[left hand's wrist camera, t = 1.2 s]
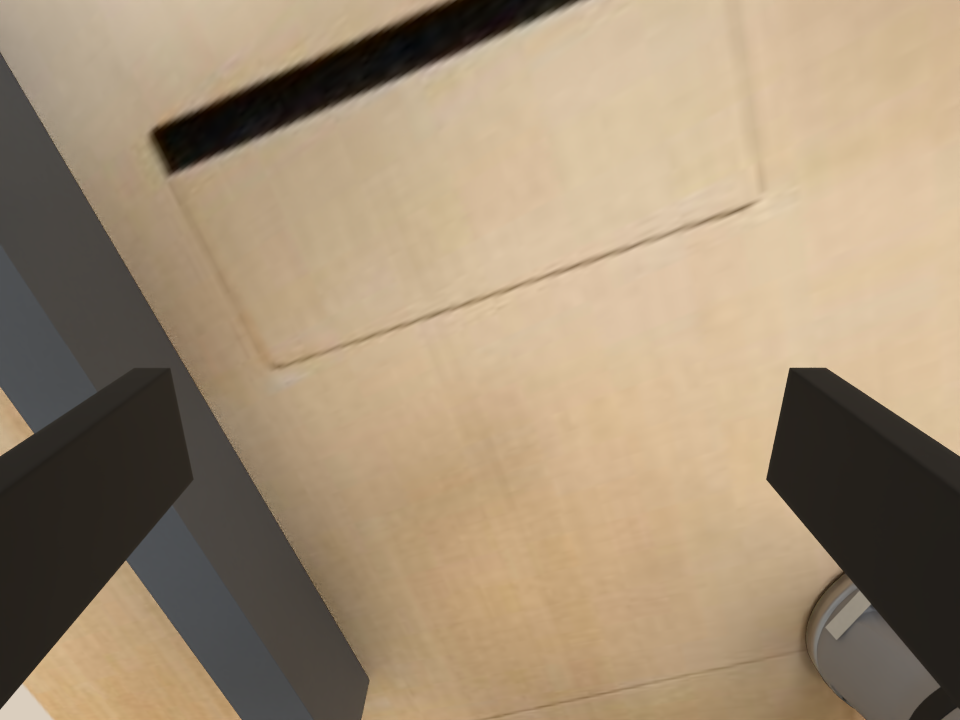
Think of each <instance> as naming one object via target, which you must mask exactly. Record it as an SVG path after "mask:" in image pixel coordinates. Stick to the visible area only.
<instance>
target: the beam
mask: <svg viewBox="0 0 960 720" xmlns="http://www.w3.org/2000/svg"><path fill="white" fill-rule="evenodd" d="M133 368H170V369H171V373H172V378H173V383H174V388H175V392H176V397H177V402H178V407H179V412H180V416H181V421H182V426H183V431H184V435H185V440H186V445H187V450H188V455H189V459H190V464H191V469H192V474H193V478H194V480H193V481H192V482H191V483H190V484H189V486H188V487H187V488H186V489H185V490H184V492H183V493H182V494H181V495H180V496H179V498H178V499H177V500H176V501H175V502H174V504H173V505H172V506H171V507H170V508H169V509H168V511H167V512H166V513H165V514H164V515H163V517H162V518H161V519H160V520H159V521H158V523H157V524H156V525H155V526H154V527H153V528H152V530H151V531H150V532H149V533H148V534H147V536H146V537H145V538H144V539H143V540H142V542H141V543H140V544H139V545H138V546H137V548H136V549H135V550H134V551H133V552H132V553H131V555H130V556H129V557H128V558H127V559H126V561H127V562H128V563H129V565H130V566H131V568H132V569H133V570H134V572H135V573H136V574H137V576H138V577H139V579H140V580H141V581H142V583H143V584H144V585H145V587H146V588H147V590H148V591H149V592H150V594H151V595H152V597H153V598H154V599H155V601H156V602H157V603H158V605H159V606H160V608H161V609H162V610H163V612H164V613H165V614H166V616H167V617H168V619H169V620H170V621H171V623H172V624H173V625H174V627H175V628H176V630H177V631H178V632H179V634H180V635H181V636H182V638H183V639H184V641H185V642H186V643H187V645H188V646H189V648H190V649H191V650H192V652H193V653H194V654H195V656H196V657H197V659H198V660H199V661H200V663H201V664H202V665H203V667H204V668H205V670H206V671H207V672H208V674H209V675H210V676H211V678H212V679H213V681H214V682H215V683H216V685H217V686H218V688H219V689H220V690H221V692H222V693H223V694H224V696H225V697H226V699H227V700H228V701H229V703H230V704H231V705H232V707H233V708H234V710H235V711H236V712H237V714H238V715H239V716H240V718H241V719H242V720H361V718H362V713H363V709H364V704H365V699H366V694H367V689H368V684H369V678H368V677H367V675H366V673H365V671H364V670H363V668H362V666H361V665H360V663H359V661H358V660H357V658H356V656H355V654H354V653H353V651H352V649H351V648H350V646H349V644H348V643H347V641H346V639H345V637H344V636H343V634H342V632H341V631H340V629H339V627H338V626H337V624H336V622H335V621H334V619H333V617H332V615H331V614H330V612H329V610H328V609H327V607H326V605H325V604H324V602H323V600H322V598H321V597H320V595H319V593H318V592H317V590H316V588H315V587H314V585H313V583H312V581H311V580H310V578H309V576H308V575H307V573H306V571H305V570H304V568H303V566H302V564H301V563H300V561H299V559H298V558H297V556H296V554H295V553H294V551H293V549H292V547H291V546H290V544H289V542H288V541H287V539H286V537H285V536H284V534H283V532H282V530H281V529H280V527H279V525H278V524H277V522H276V520H275V519H274V517H273V515H272V514H271V512H270V510H269V508H268V507H267V505H266V503H265V502H264V500H263V498H262V497H261V495H260V493H259V491H258V490H257V488H256V486H255V485H254V483H253V481H252V480H251V478H250V476H249V474H248V473H247V471H246V469H245V468H244V466H243V464H242V463H241V461H240V459H239V457H238V456H237V454H236V452H235V451H234V449H233V447H232V446H231V444H230V442H229V440H228V439H227V437H226V435H225V434H224V432H223V430H222V429H221V427H220V425H219V423H218V422H217V420H216V418H215V417H214V415H213V413H212V412H211V410H210V408H209V407H208V405H207V403H206V401H205V400H204V398H203V396H202V395H201V393H200V391H199V390H198V388H197V386H196V384H195V383H194V381H193V379H192V378H191V376H190V374H189V373H188V371H187V369H186V367H185V366H184V364H183V362H182V361H181V359H180V357H179V356H178V354H177V352H176V350H175V349H174V347H173V345H172V344H171V342H170V340H169V339H168V337H167V335H166V333H165V332H164V330H163V328H162V327H161V325H160V323H159V322H158V320H157V318H156V316H155V315H154V313H153V311H152V310H151V308H150V306H149V305H148V303H147V301H146V300H145V298H144V296H143V294H142V293H141V291H140V289H139V288H138V286H137V284H136V283H135V281H134V279H133V277H132V276H131V274H130V272H129V271H128V269H127V267H126V266H125V264H124V262H123V260H122V259H121V257H120V255H119V254H118V252H117V250H116V249H115V247H114V245H113V243H112V242H111V240H110V238H109V237H108V235H107V233H106V232H105V230H104V228H103V226H102V225H101V223H100V221H99V220H98V218H97V216H96V215H95V213H94V211H93V209H92V208H91V206H90V204H89V203H88V201H87V199H86V198H85V196H84V194H83V193H82V191H81V189H80V187H79V186H78V184H77V182H76V181H75V179H74V177H73V176H72V174H71V172H70V170H69V169H68V167H67V165H66V164H65V162H64V160H63V159H62V157H61V155H60V153H59V152H58V150H57V148H56V147H55V145H54V143H53V142H52V140H51V138H50V136H49V135H48V133H47V131H46V130H45V128H44V126H43V125H42V123H41V121H40V119H39V118H38V116H37V114H36V113H35V111H34V109H33V108H32V106H31V104H30V102H29V101H28V99H27V97H26V96H25V94H24V92H23V91H22V89H21V87H20V86H19V84H18V82H17V80H16V79H15V77H14V75H13V74H12V72H11V70H10V69H9V67H8V65H7V63H6V62H5V60H4V58H3V57H2V55H1V53H0V387H1V388H2V390H3V391H4V392H5V394H6V395H7V397H8V398H9V399H10V401H11V402H12V403H13V405H14V406H15V408H16V409H17V410H18V412H19V413H20V414H21V416H22V417H23V419H24V420H25V421H26V423H27V424H28V426H29V427H30V428H31V430H32V431H33V432H34V434H35V433H36V432H38V431H39V430H41V429H43V428H44V427H46V426H47V425H49V424H50V423H52V422H53V421H55V420H56V419H58V418H59V417H61V416H62V415H64V414H65V413H67V412H68V411H70V410H71V409H73V408H74V407H76V406H77V405H79V404H80V403H82V402H83V401H85V400H86V399H88V398H89V397H91V396H92V395H94V394H95V393H97V392H98V391H100V390H101V389H103V388H104V387H106V386H108V385H109V384H111V383H112V382H114V381H115V380H117V379H118V378H120V377H121V376H123V375H124V374H126V373H127V372H129V371H130V370H132V369H133Z"/></svg>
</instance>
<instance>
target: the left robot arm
mask: <svg viewBox="0 0 960 720" xmlns="http://www.w3.org/2000/svg"><path fill="white" fill-rule="evenodd" d="M193 480H194V478H193V474H192V469H191V464H190V459H189V455H188V450H187V445H186V440H185V435H184V431H183V426H182V421H181V416H180V412H179V407H178V402H177V397H176V392H175V388H174V383H173V378H172V373H171V369H170V368H133V369H132V370H130V371H129V372H127V373H126V374H124V375H123V376H121V377H120V378H118V379H117V380H115V381H114V382H112V383H111V384H109V385H108V386H106V387H104V388H103V389H101V390H100V391H98V392H97V393H95V394H94V395H92V396H91V397H89V398H88V399H86V400H85V401H83V402H82V403H80V404H79V405H77V406H76V407H74V408H73V409H71V410H70V411H68V412H67V413H65V414H64V415H62V416H61V417H59V418H58V419H56V420H55V421H53V422H52V423H50V424H49V425H47V426H46V427H44V428H43V429H41V430H39V431H38V432H36V433H35V434H33V435H32V436H30V437H29V438H27V439H26V440H24V441H23V442H21V443H20V444H18V445H17V446H15V447H14V448H12V449H11V450H9V451H8V452H6V453H5V454H3V455H2V456H0V709H1V708H2V707H3V706H4V704H5V703H6V702H7V701H8V700H9V698H10V697H11V696H12V695H13V694H14V692H15V691H16V690H17V689H18V688H19V687H20V685H21V684H22V683H23V682H24V681H25V679H26V678H27V677H28V676H29V675H30V674H31V672H32V671H33V670H34V669H35V668H36V666H37V665H38V664H39V663H40V662H41V660H42V659H43V658H44V657H45V656H46V655H47V653H48V652H49V651H50V650H51V649H52V647H53V646H54V645H55V644H56V643H57V641H58V640H59V639H60V638H61V637H62V636H63V634H64V633H65V632H66V631H67V630H68V628H69V627H70V626H71V625H72V624H73V622H74V621H75V620H76V619H77V618H78V616H79V615H80V614H81V613H82V612H83V611H84V609H85V608H86V607H87V606H88V605H89V603H90V602H91V601H92V600H93V599H94V597H95V596H96V595H97V594H98V593H99V592H100V590H101V589H102V588H103V587H104V586H105V584H106V583H107V582H108V581H109V580H110V578H111V577H112V576H113V575H114V574H115V572H116V571H117V570H118V569H119V568H120V567H121V565H122V564H123V563H124V562H125V561H126V559H127V558H128V557H129V556H130V555H131V553H132V552H133V551H134V550H135V549H136V548H137V546H138V545H139V544H140V543H141V542H142V540H143V539H144V538H145V537H146V536H147V534H148V533H149V532H150V531H151V530H152V528H153V527H154V526H155V525H156V524H157V523H158V521H159V520H160V519H161V518H162V517H163V515H164V514H165V513H166V512H167V511H168V509H169V508H170V507H171V506H172V505H173V504H174V502H175V501H176V500H177V499H178V498H179V496H180V495H181V494H182V493H183V492H184V490H185V489H186V488H187V487H188V486H189V484H190V483H191V482H192V481H193ZM766 480H767V481H768V482H769V483H770V484H771V486H772V487H773V488H774V489H775V490H776V492H777V493H778V494H779V495H780V496H781V498H782V499H783V500H784V501H785V502H786V504H787V505H788V506H789V507H790V508H791V509H792V511H793V512H794V513H795V514H796V515H797V517H798V518H799V519H800V520H801V521H802V523H803V524H804V525H805V526H806V527H807V528H808V530H809V531H810V532H811V533H812V534H813V536H814V537H815V538H816V539H817V540H818V542H819V543H820V544H821V545H822V546H823V548H824V549H825V550H826V551H827V552H828V553H829V555H830V556H831V557H832V558H833V559H834V561H835V562H836V563H837V564H838V565H839V567H840V568H841V569H842V570H843V571H844V572H845V574H846V575H847V576H848V577H849V578H850V580H851V581H852V582H853V583H854V584H855V586H856V587H857V588H858V589H859V590H860V592H861V593H862V594H863V595H864V596H865V597H866V599H867V600H868V601H869V602H870V603H871V605H872V606H873V607H874V608H875V609H876V611H877V612H878V613H879V614H880V615H881V616H882V618H883V619H884V620H885V621H886V622H887V624H888V625H889V626H890V627H891V628H892V630H893V631H894V632H895V633H896V634H897V636H898V637H899V638H900V639H901V640H902V641H903V643H904V644H905V645H906V646H907V647H908V649H909V650H910V651H911V652H912V653H913V655H914V656H915V657H916V658H917V659H918V660H919V662H920V663H921V664H922V665H923V666H924V668H925V669H926V670H927V671H928V672H929V674H930V675H931V676H932V677H933V678H934V679H935V681H936V682H937V683H938V684H939V685H940V687H941V688H942V689H943V690H944V691H945V693H946V694H947V695H948V696H949V697H950V699H951V700H952V701H953V702H954V703H955V704H956V706H957V707H958V708H959V709H960V456H958V455H957V454H955V453H954V452H952V451H951V450H949V449H948V448H946V447H945V446H943V445H942V444H940V443H939V442H937V441H936V440H934V439H933V438H931V437H930V436H928V435H927V434H925V433H924V432H922V431H921V430H919V429H917V428H916V427H914V426H913V425H911V424H910V423H908V422H907V421H905V420H904V419H902V418H901V417H899V416H898V415H896V414H895V413H893V412H892V411H890V410H889V409H887V408H886V407H884V406H883V405H881V404H880V403H878V402H877V401H875V400H874V399H872V398H871V397H869V396H868V395H866V394H865V393H863V392H862V391H860V390H859V389H857V388H856V387H854V386H852V385H851V384H849V383H848V382H846V381H845V380H843V379H842V378H840V377H839V376H837V375H836V374H834V373H833V372H831V371H830V370H828V369H827V368H790V369H789V373H788V378H787V383H786V388H785V392H784V397H783V402H782V407H781V412H780V416H779V421H778V426H777V431H776V435H775V440H774V445H773V450H772V455H771V459H770V464H769V469H768V474H767V478H766Z"/></svg>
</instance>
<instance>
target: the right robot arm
mask: <svg viewBox="0 0 960 720" xmlns="http://www.w3.org/2000/svg"><path fill="white" fill-rule="evenodd" d="M806 646H807V650H808V654H809V656H810V658H811V660H812V662H813V664H814V665H815V667H816V669H817V670H818V672H819V673H820V675H821V677H822V678H823V680H824V681H825V682H826V684H827V685H828V686H829V687H830V688H831V689H832V690H833V692H834V693H835V694H836V695H837V696H838V697H840V698H841V699H842V700H843V701H845V702H846V703H847V704H848V705H850V706H851V707H853V708H854V709H856V710H857V711H858V712H859V713H860V714H861V715H862V716H863V717H864V718H865V719H866V720H960V709H959V708H958V707H957V706H956V704H955V703H954V702H953V701H952V700H951V699H950V697H949V696H948V695H947V694H946V693H945V691H944V690H943V689H942V688H941V687H940V685H939V684H938V683H937V682H936V681H935V679H934V678H933V677H932V676H931V675H930V674H929V672H928V671H927V670H926V669H925V668H924V666H923V665H922V664H921V663H920V662H919V660H918V659H917V658H916V657H915V656H914V655H913V653H912V652H911V651H910V650H909V649H908V647H907V646H906V645H905V644H904V643H903V641H902V640H901V639H900V638H899V637H898V636H897V634H896V633H895V632H894V631H893V630H892V628H891V627H890V626H889V625H888V624H887V622H886V621H885V620H884V619H883V618H882V616H881V615H880V614H879V613H878V612H877V611H876V609H875V608H874V607H873V606H872V605H871V603H870V602H869V601H868V600H867V599H866V597H865V596H864V595H863V594H862V593H861V592H860V590H859V589H858V588H857V587H856V586H855V584H854V583H853V582H852V581H851V580H850V578H849V577H848V576H847V575H846V574H844V575H842V576H841V577H840V578H839V579H838V580H836V581H835V582H834V583H833V584H832V585H831V586H830V587H829V588H828V589H827V590H826V592H825V593H824V594H823V595H822V596H821V598H820V599H819V601H818V602H817V604H816V605H815V607H814V609H813V611H812V613H811V616H810V618H809V621H808V625H807V630H806Z"/></svg>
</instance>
